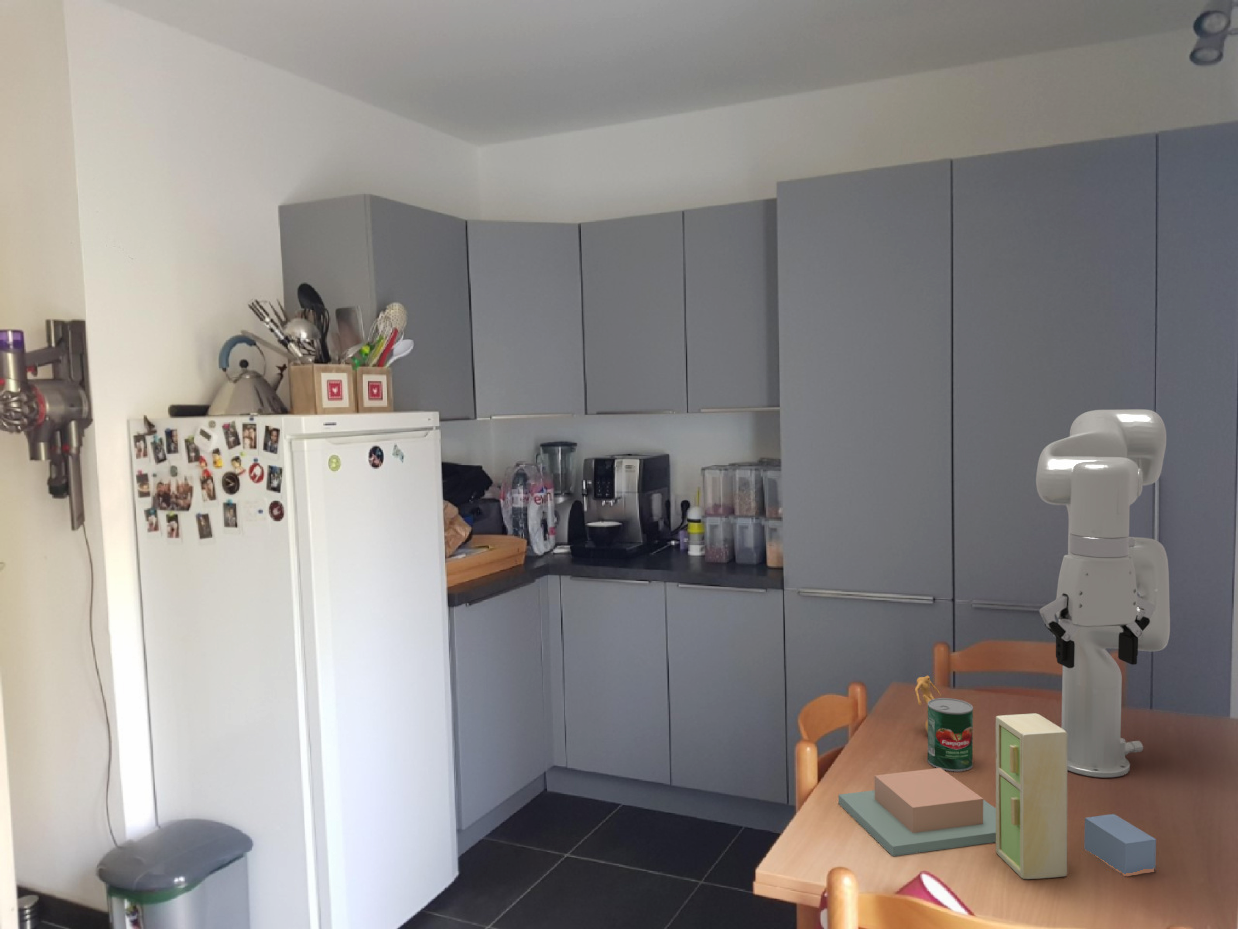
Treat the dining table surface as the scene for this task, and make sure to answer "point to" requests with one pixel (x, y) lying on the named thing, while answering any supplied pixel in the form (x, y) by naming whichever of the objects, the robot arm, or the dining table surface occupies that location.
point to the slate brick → (1119, 843)
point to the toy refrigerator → (1031, 795)
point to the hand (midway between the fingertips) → (1096, 663)
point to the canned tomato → (950, 734)
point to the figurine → (925, 692)
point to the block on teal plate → (922, 812)
